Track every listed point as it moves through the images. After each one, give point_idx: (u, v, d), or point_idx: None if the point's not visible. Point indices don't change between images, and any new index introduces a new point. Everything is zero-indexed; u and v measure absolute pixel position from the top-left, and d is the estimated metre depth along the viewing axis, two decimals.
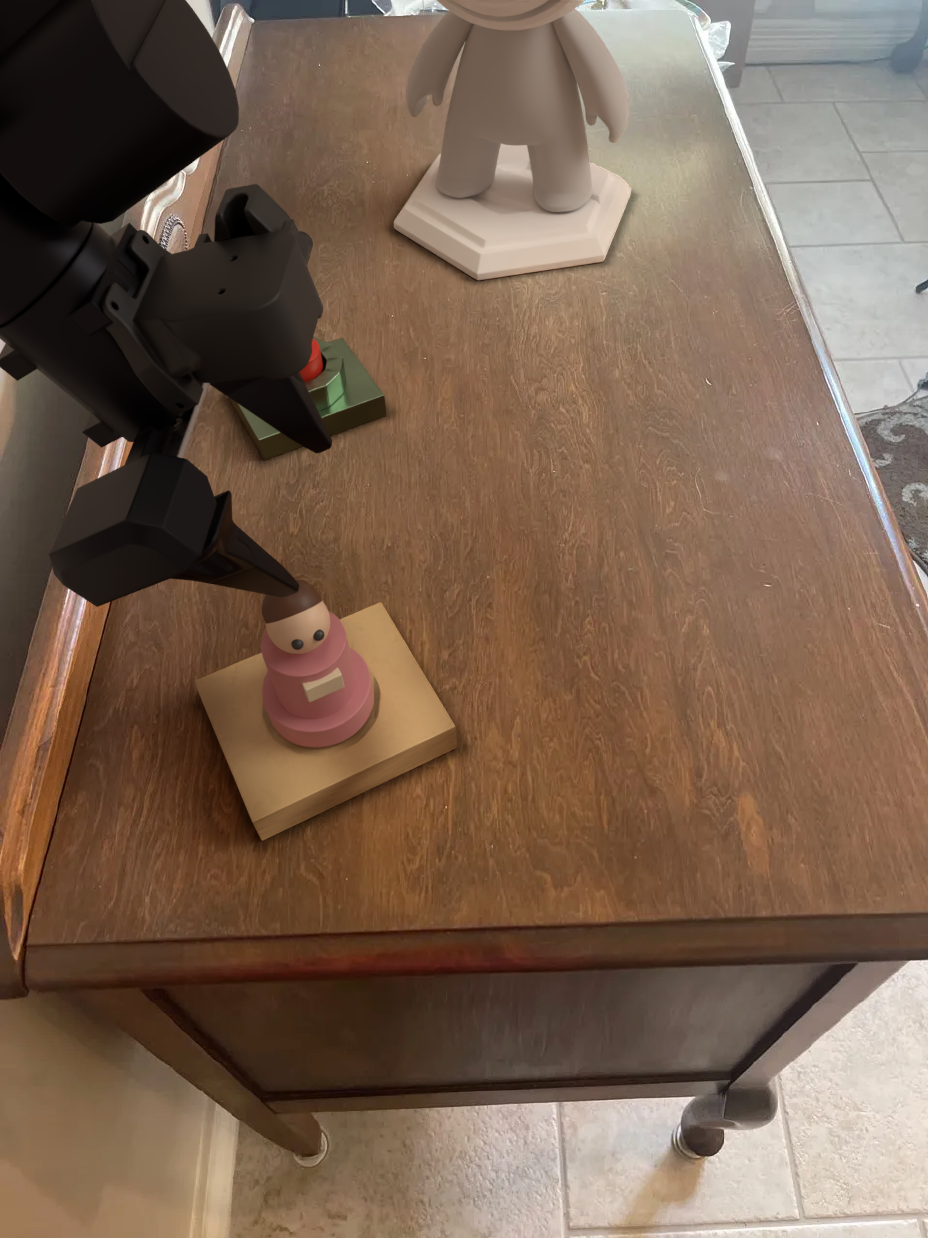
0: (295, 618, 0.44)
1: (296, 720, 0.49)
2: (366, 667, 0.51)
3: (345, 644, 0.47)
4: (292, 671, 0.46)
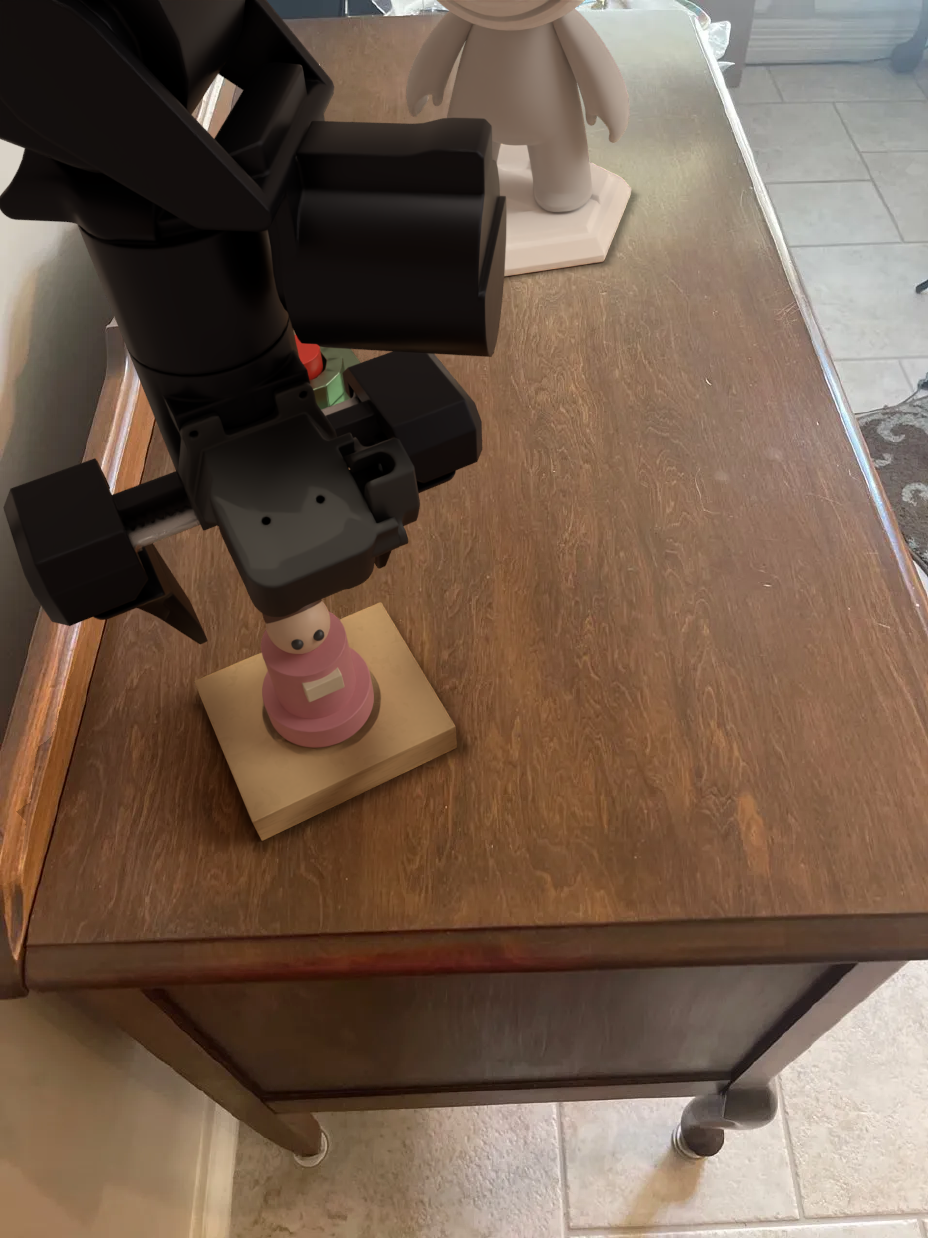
0: (295, 618, 0.44)
1: (296, 720, 0.49)
2: (366, 667, 0.51)
3: (345, 644, 0.47)
4: (292, 671, 0.46)
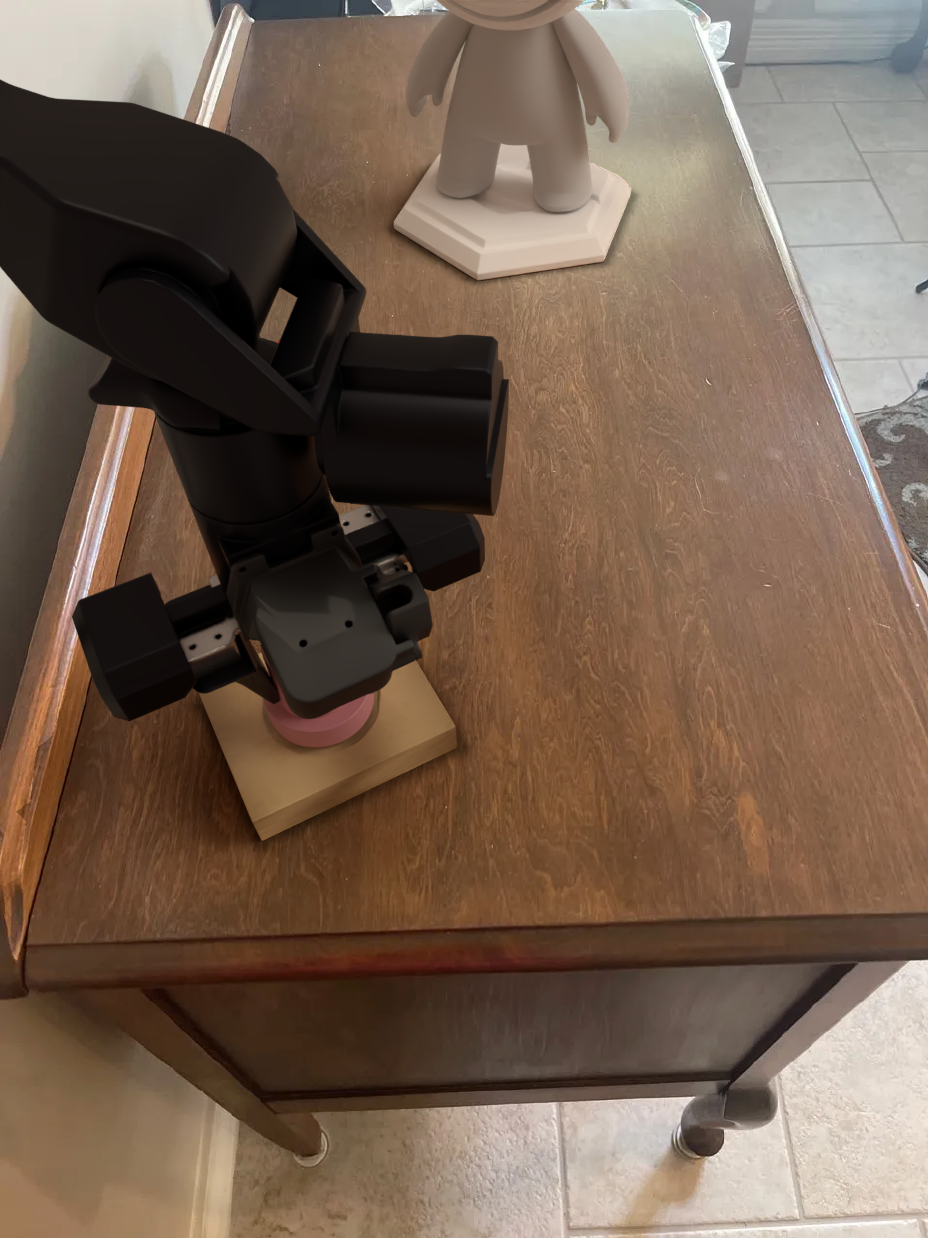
0: None
1: (296, 720, 0.49)
2: None
3: None
4: None
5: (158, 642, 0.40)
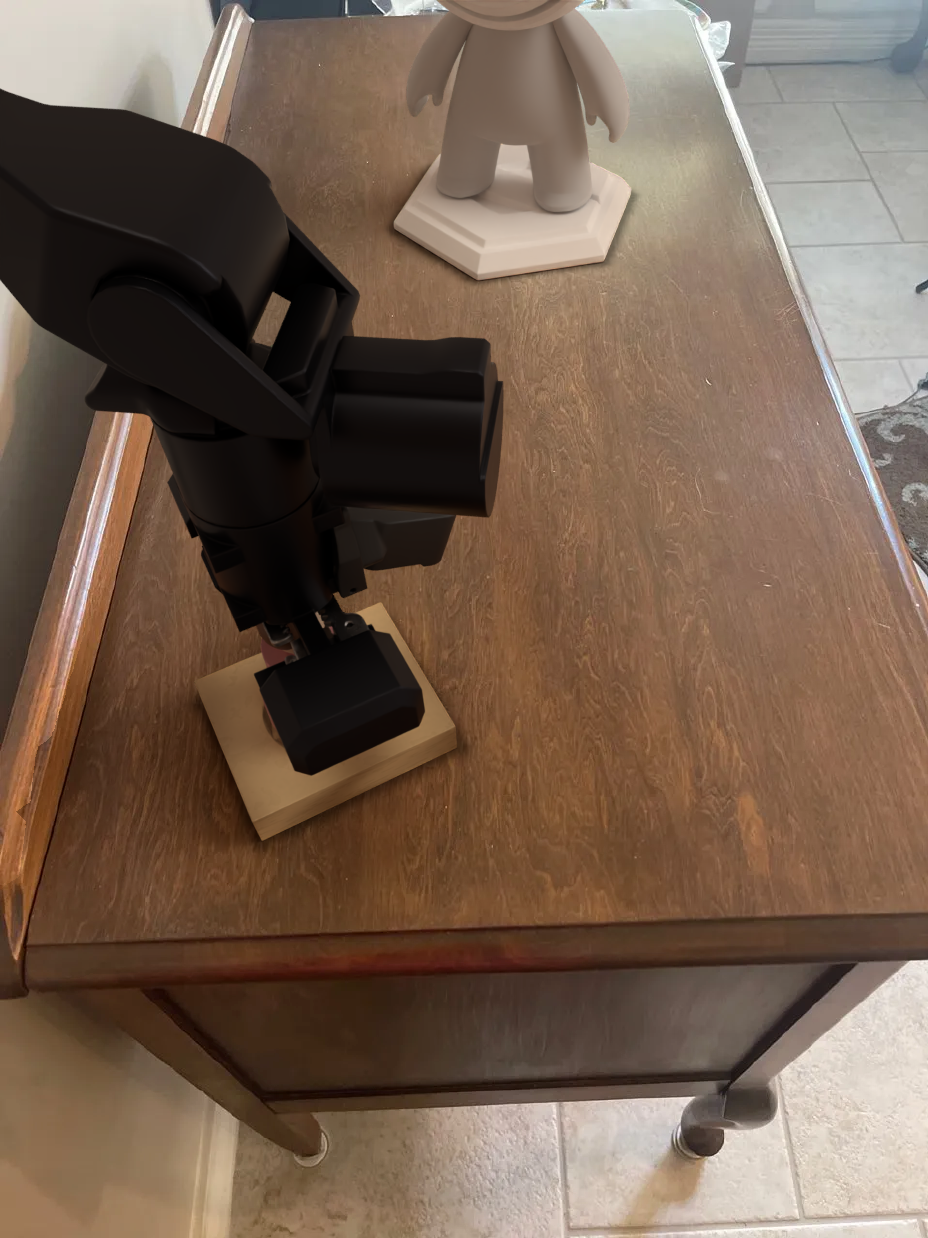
0: None
1: None
2: None
3: None
4: None
5: (368, 646, 0.39)
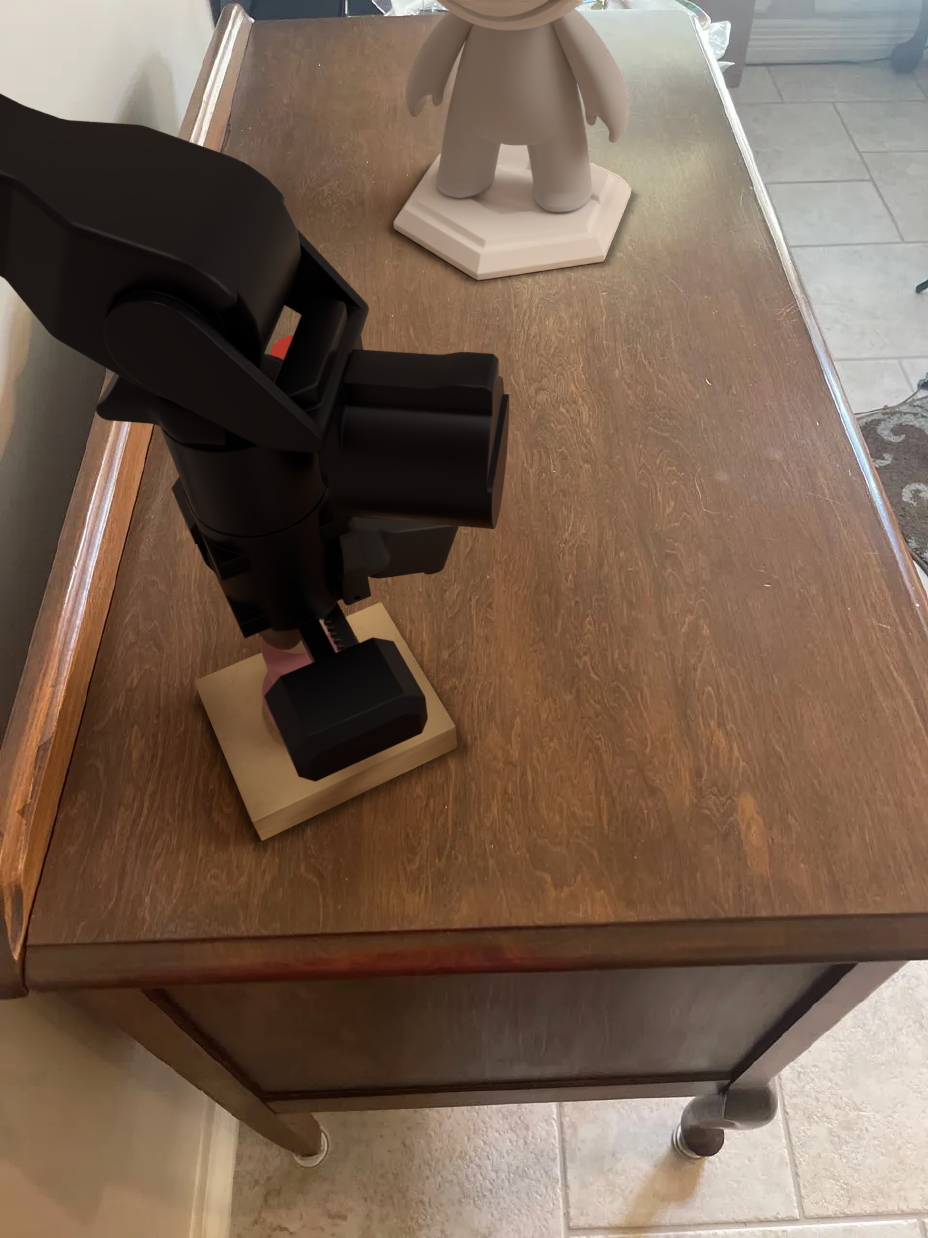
0: None
1: None
2: None
3: None
4: None
5: (372, 654, 0.40)
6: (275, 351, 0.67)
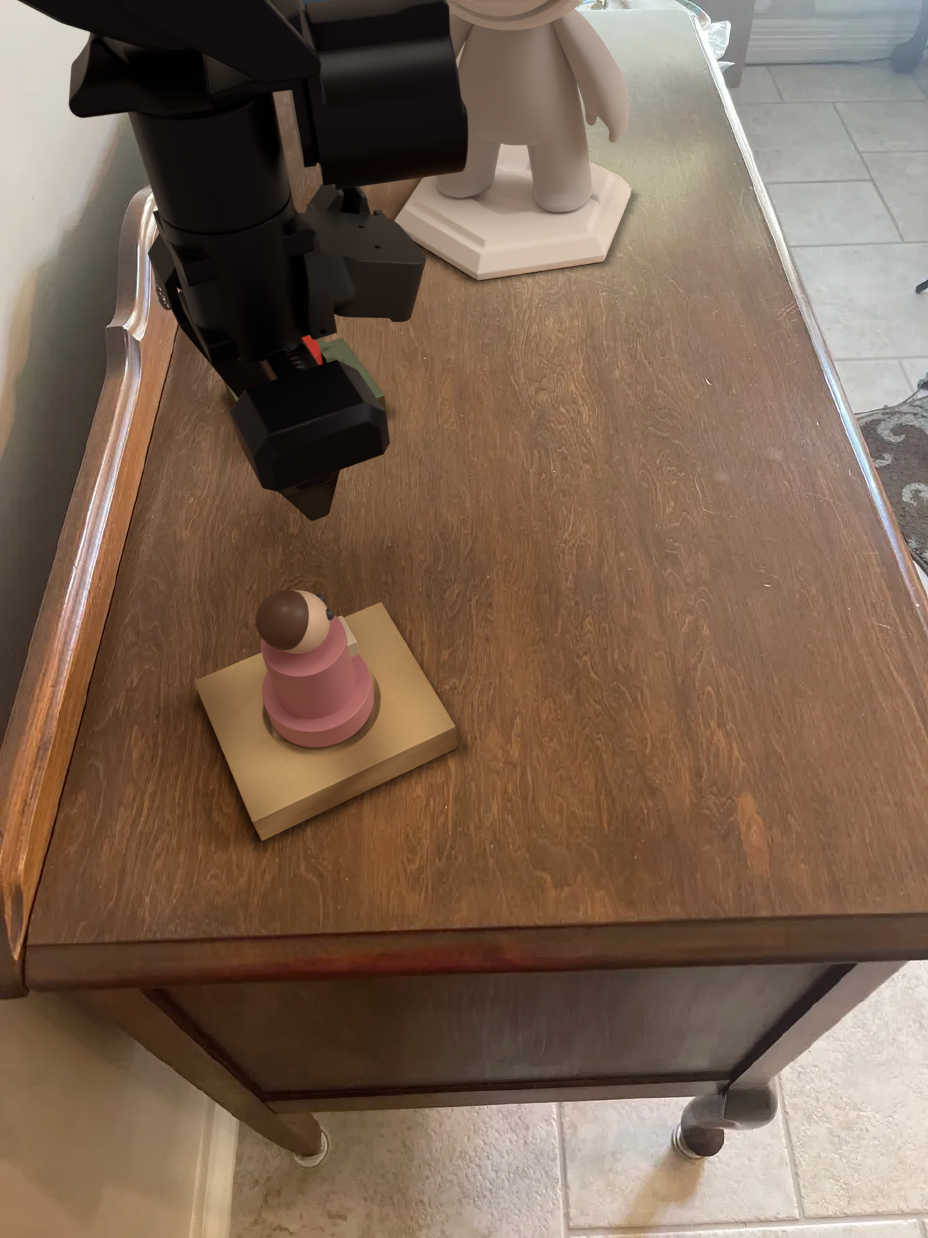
0: (309, 601, 0.45)
1: (356, 696, 0.50)
2: None
3: None
4: (339, 645, 0.47)
5: (335, 372, 0.41)
6: None
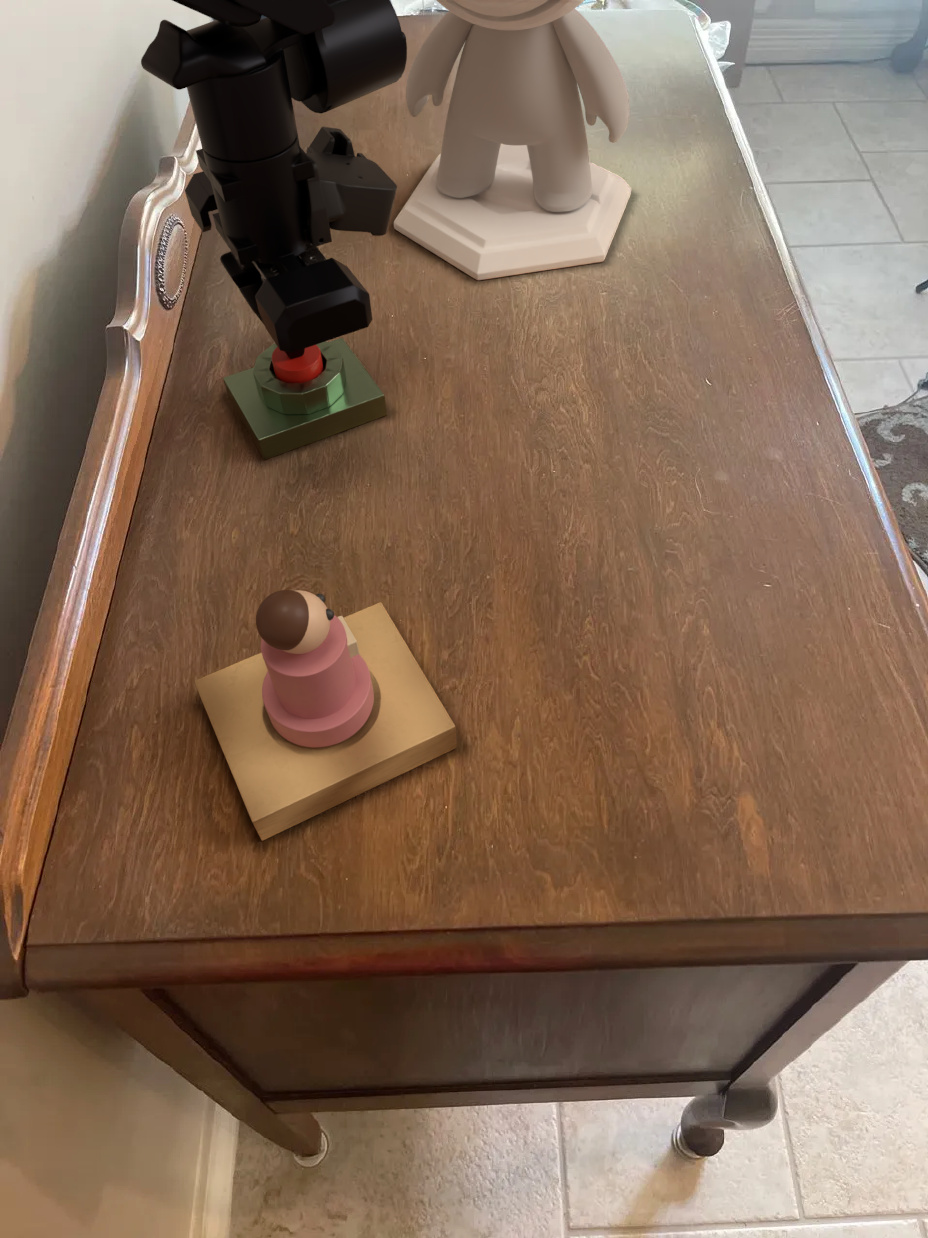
0: (309, 601, 0.45)
1: (356, 696, 0.50)
2: None
3: None
4: (339, 645, 0.47)
5: (331, 265, 0.56)
6: (276, 356, 0.67)
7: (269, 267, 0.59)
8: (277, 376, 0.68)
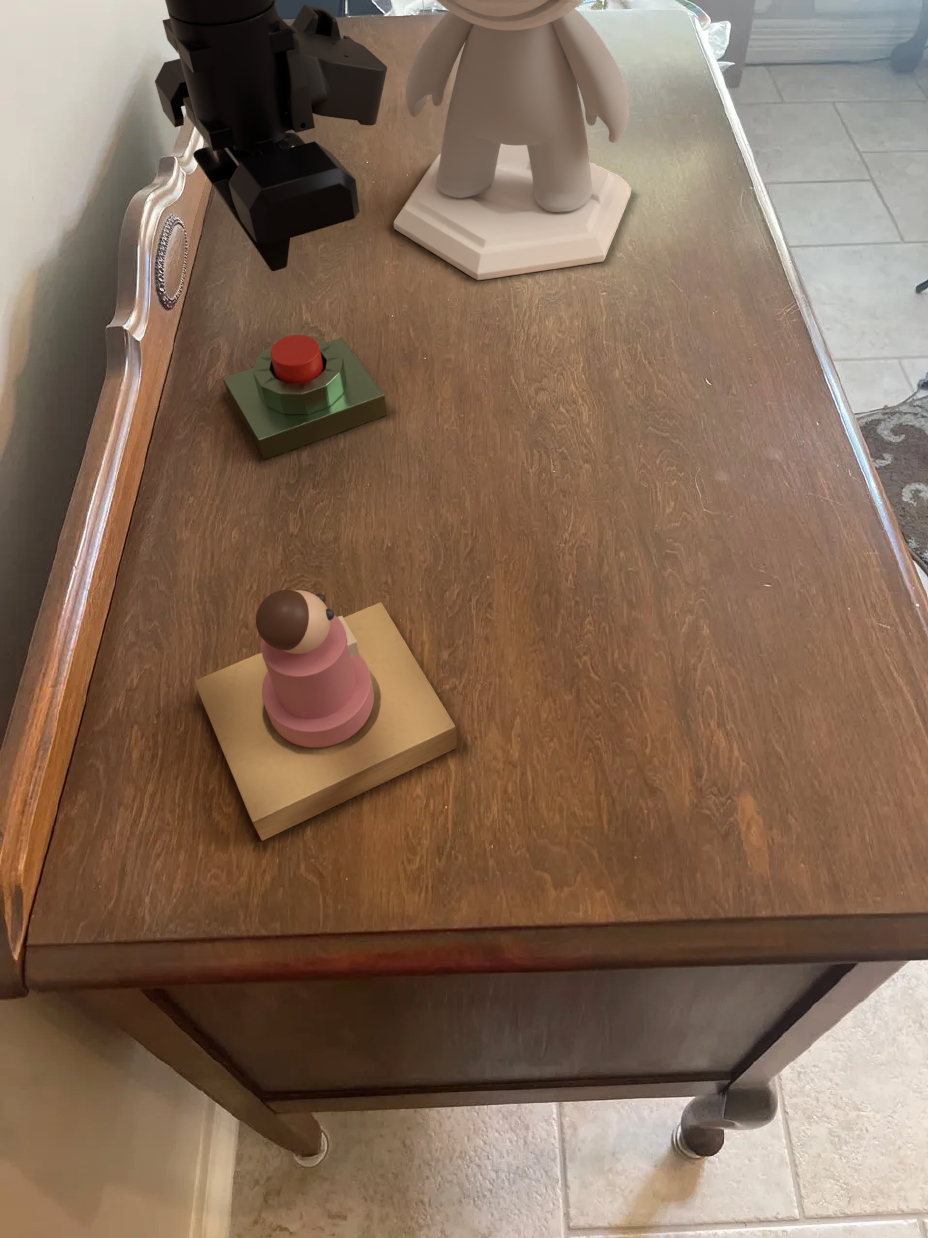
0: (309, 601, 0.45)
1: (356, 696, 0.50)
2: None
3: None
4: (339, 645, 0.47)
5: (313, 149, 0.51)
6: (275, 351, 0.67)
7: (245, 155, 0.53)
8: (276, 371, 0.67)
